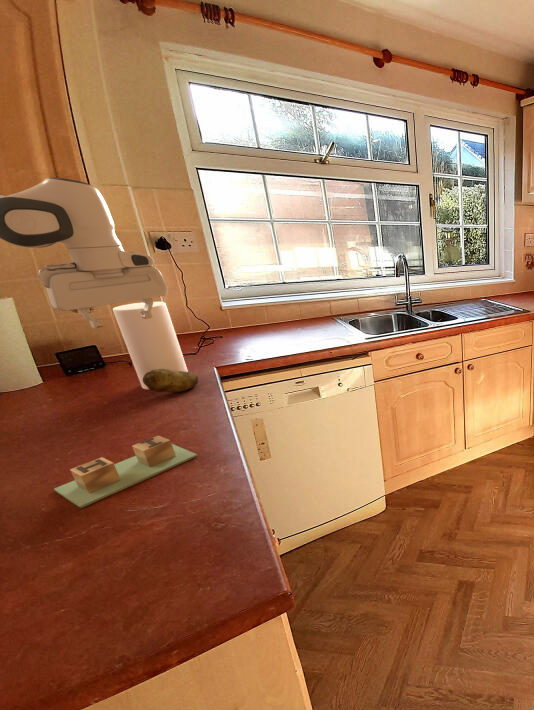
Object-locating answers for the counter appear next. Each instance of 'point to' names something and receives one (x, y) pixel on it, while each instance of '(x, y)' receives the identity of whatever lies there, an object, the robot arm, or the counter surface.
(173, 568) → the counter surface
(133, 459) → the mat
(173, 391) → the potato
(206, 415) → the counter surface
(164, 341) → the cylinder
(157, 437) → the tan boxy piece
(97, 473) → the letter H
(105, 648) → the counter surface
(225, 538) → the counter surface
